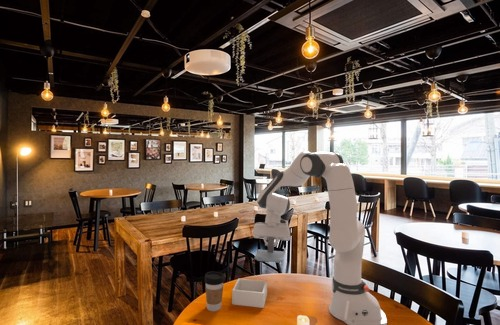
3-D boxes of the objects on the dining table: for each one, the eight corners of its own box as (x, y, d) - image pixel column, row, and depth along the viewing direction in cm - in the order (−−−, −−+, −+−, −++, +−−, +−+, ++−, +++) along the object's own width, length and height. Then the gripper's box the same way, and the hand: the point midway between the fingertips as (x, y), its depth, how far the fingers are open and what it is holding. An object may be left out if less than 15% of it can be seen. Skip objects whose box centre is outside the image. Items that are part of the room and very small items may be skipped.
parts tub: (266, 295, 127) (267, 281, 127) (263, 309, 116) (263, 293, 116) (238, 292, 130) (238, 278, 130) (232, 305, 118) (232, 290, 118)
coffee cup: (207, 303, 120) (207, 269, 120) (225, 304, 119) (226, 271, 119) (201, 313, 112) (201, 278, 112) (221, 315, 111) (221, 279, 110)
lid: (283, 255, 144) (284, 238, 144) (282, 263, 132) (282, 245, 132) (258, 253, 146) (258, 236, 146) (254, 261, 135) (254, 243, 134)
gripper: (254, 219, 151) (250, 241, 142) (290, 221, 148) (289, 244, 138) (255, 225, 156) (251, 247, 146) (290, 227, 152) (289, 250, 143)
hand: (270, 245), depth 142 cm, fingers closed on lid, 3 cm apart
